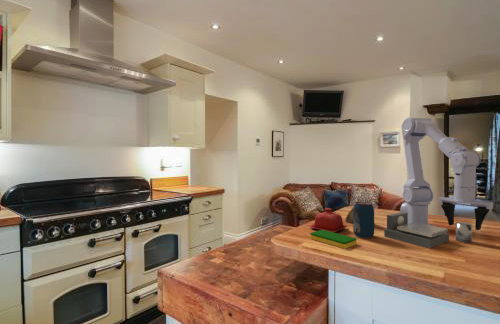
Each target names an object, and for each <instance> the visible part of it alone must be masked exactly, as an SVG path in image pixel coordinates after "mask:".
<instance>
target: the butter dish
mask: <svg viewBox="0 0 500 324" xmlns="http://www.w3.org/2000/svg"><path fill="white" fill-rule="evenodd" d="M324 210H325V211H324V212H320V213H318V214H316V216H315V217H314V218H315V219H314V223H313V224H312V225H309V228H312V229H313V230H317V231H319V230H326V231H329V232H333V233H336V232H338V231H341V230H343V229H345V228H347V227H348V225H347V224H344V221H343V217H342V216H341V214H339V213H338V212H333V211H332V208H330V207H325V208H324Z"/></svg>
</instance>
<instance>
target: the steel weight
mask: <svg viewBox="0 0 500 324" xmlns="http://www.w3.org/2000/svg"><path fill="white" fill-rule="evenodd" d="M455 241H456V242H458V241H459V242H458V243H462V242H464V243H465V244H472V243H473V223H471V222H465V221H456V222H455Z"/></svg>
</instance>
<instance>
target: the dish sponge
mask: <svg viewBox="0 0 500 324" xmlns="http://www.w3.org/2000/svg"><path fill="white" fill-rule="evenodd" d="M309 238H311V239H310V240H313V239H314V241H316V240H317V241H318V242H320V241H321V242H320V243H323V242H324V244H327V245H330V246H334V247H337V248H341V249H347V248H351V247H353V245H354V246H356V245H357V239H358V238H357V237H353V236H348V235H344V234H341V233H336V232H329V231H326V230H316V231H312V232H310V235H309Z"/></svg>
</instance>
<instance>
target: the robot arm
mask: <svg viewBox="0 0 500 324" xmlns="http://www.w3.org/2000/svg"><path fill="white" fill-rule="evenodd" d="M400 127H401V134H402V141H403V147H404V148H403V149H404V155H405V163H406V171H407V177H408V181H406V183H405V184H403V191H402V198H403V200H404V202H402V204H401V206H400V212H406V213H408V224H409V223H413V222H415V223H420V224H425V225H430V226H433V224H432V223H431V224H430V223H429V205H431V202H432V201H433V199H434V192H433V190H432V187H431V184H430V183H429V182H428V181H427V180H425V176H424V171H423V164H422V157H421V150H420V146H419V145H420V144H419V143H420V141H421V140H422V139H424V138H425V137H426V136H428V137H429V138H430V139H432V140H433V141H434V142H436V143H437V144H438V146H437V147H438V149H439V150H440V151H441V152H442V153H443V154H444V155H445V156H446V157H447V158H448V159H449V164H450V165H451V167H452V172H453V174H454V175H453V176H454V179H453V182H454V183H453V185H454V186H453V197H447V196H446V197H445V196H444V197H443V196H441V197H439V198H438V203H440V204H441V206H440V207H441V209H442V210H443V212H444V214H445V216H446V219H447V220H446V221H447V223H448V226H453V225H454V223H455V210H456V209H455V208H456V206H457V205H458V206H463V207H464V206H465V207H473V210H474V216H475V223H474V225H475V231H479V230H481V229H482V225H483V222H484V220H485V219H486V216H487V215H488V213H489V212H490V210H492V209H493V208H494V202H491V201H483V200H477V199H476V188H477V187H476V179H477V177H476V175H477V174H476V173H477V171H476V169H477V167H478V166H480V164H481V162H482V161H481V160H482V158H481V156H480V155H481V154H479V153H478V151H476V150H470V149H468V147H467V146H464V145H463V144H462V143H461V142H460V141H458V140H459V139H458V138H457V137H452V136H447V135H445V133H444V132H443V131H442V130H440V128H439V127H438V126H437V125H436V121H434V120H432V118H430V117H406V118H405V119H404V121H403V122H402V124H401V126H400Z"/></svg>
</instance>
